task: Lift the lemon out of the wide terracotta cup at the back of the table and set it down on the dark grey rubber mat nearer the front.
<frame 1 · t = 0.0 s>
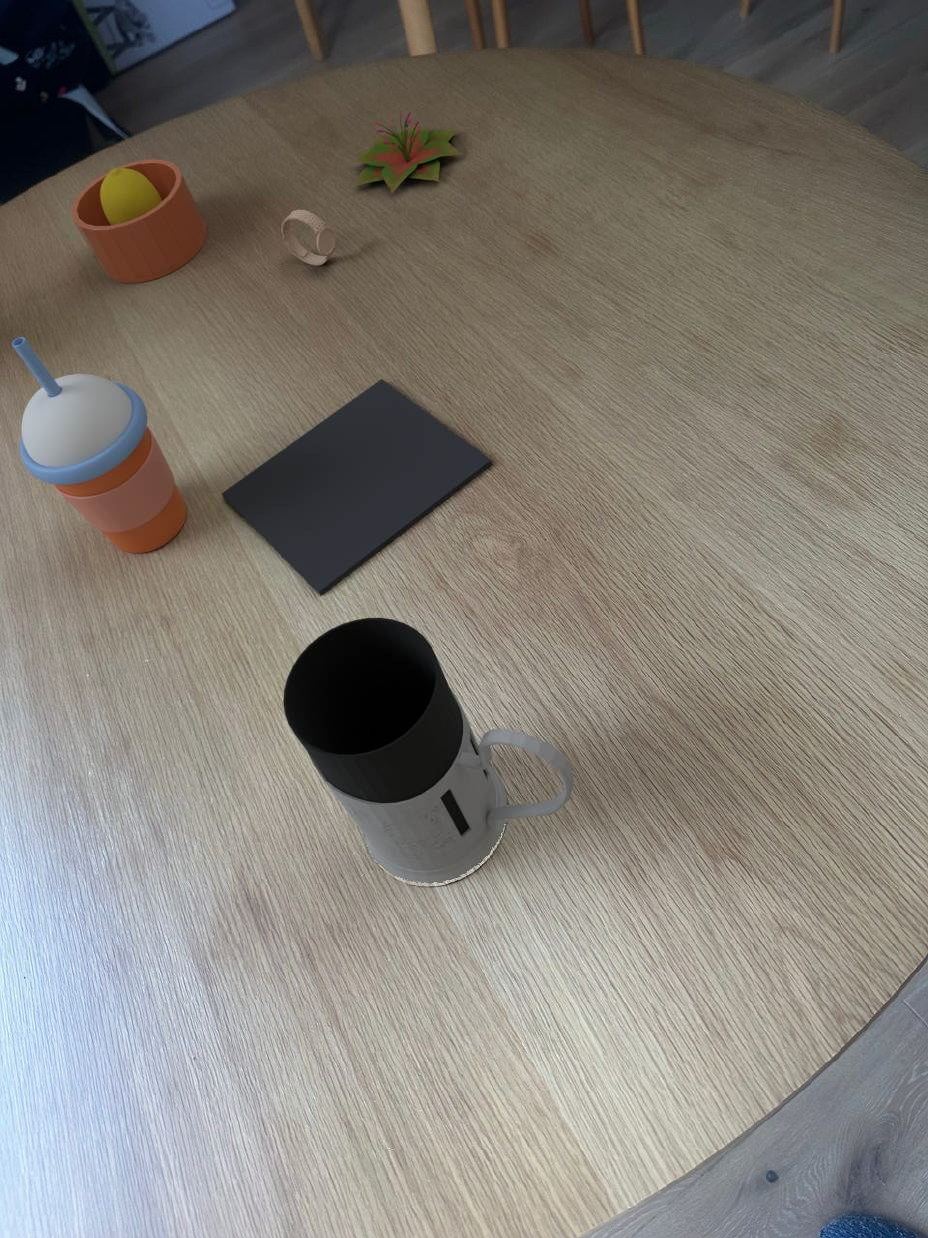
wristwatch: (316, 262, 92), on the table
cup: (155, 247, 99), on the table
mat: (354, 481, 75), on the table
lily flower: (408, 164, 98), on the table
lemon: (153, 244, 99), resting on cup
gray and black mug: (477, 828, 57), on the table
cup with straw: (151, 524, 77), on the table
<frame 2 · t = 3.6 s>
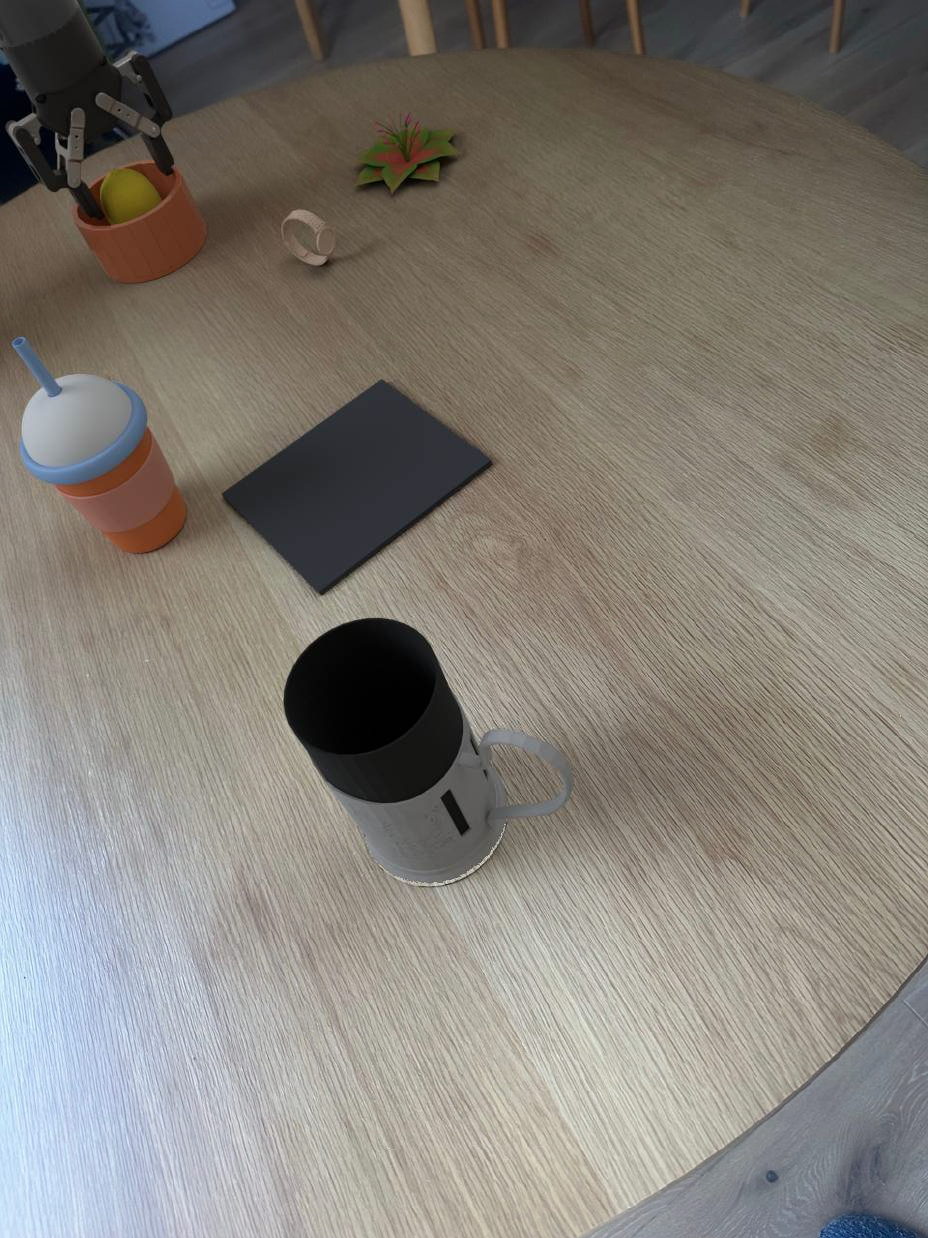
hand: (132, 194, 95), 6 cm above the table, tool pointing down, fingers open, 7 cm apart
nothing on the table moved.
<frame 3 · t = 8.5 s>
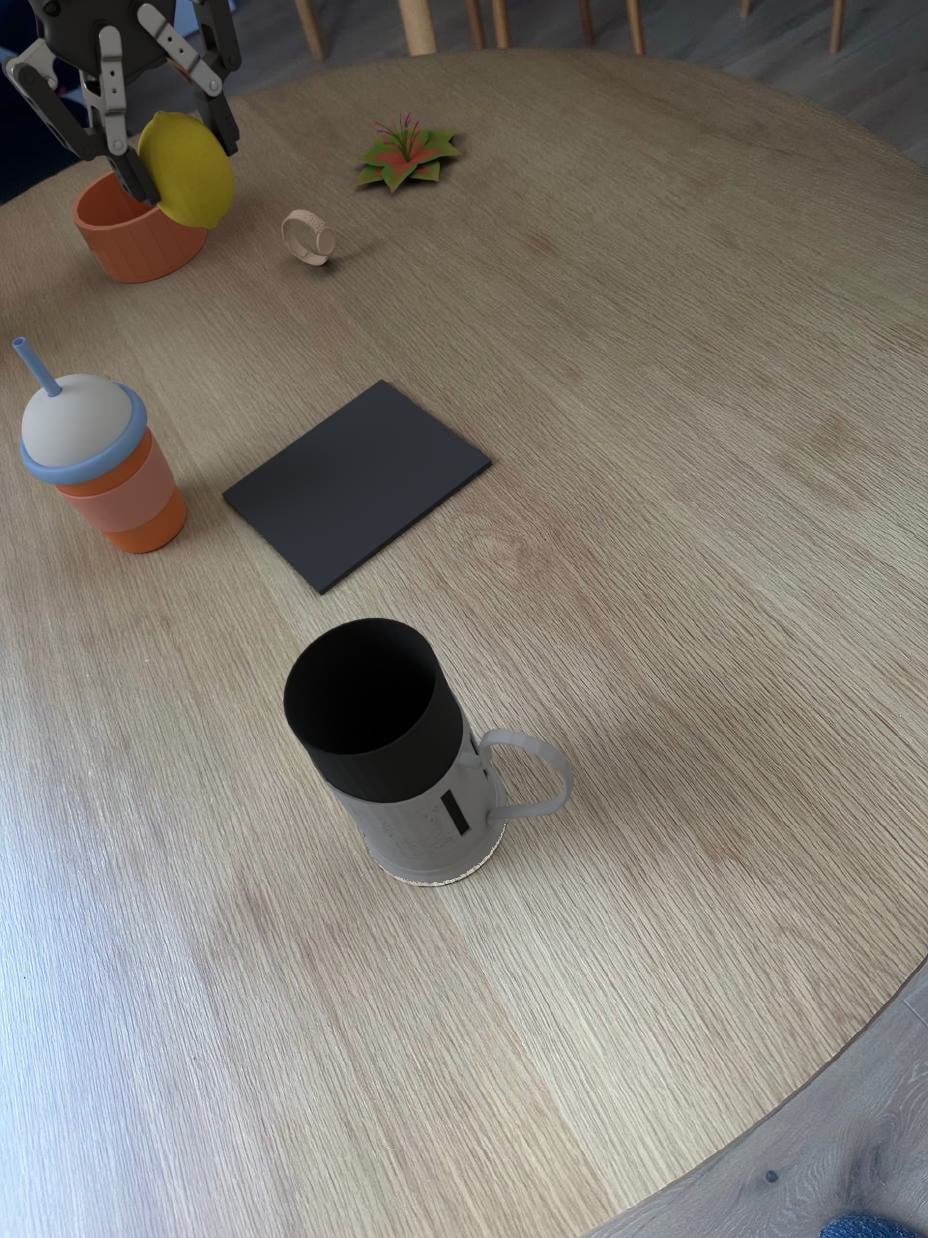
hand: (188, 175, 64), 21 cm above the table, tool pointing down, fingers closed on lemon, 5 cm apart
lemon: (214, 229, 67), point 17 cm above the table, touching gripper
everything else where it was.
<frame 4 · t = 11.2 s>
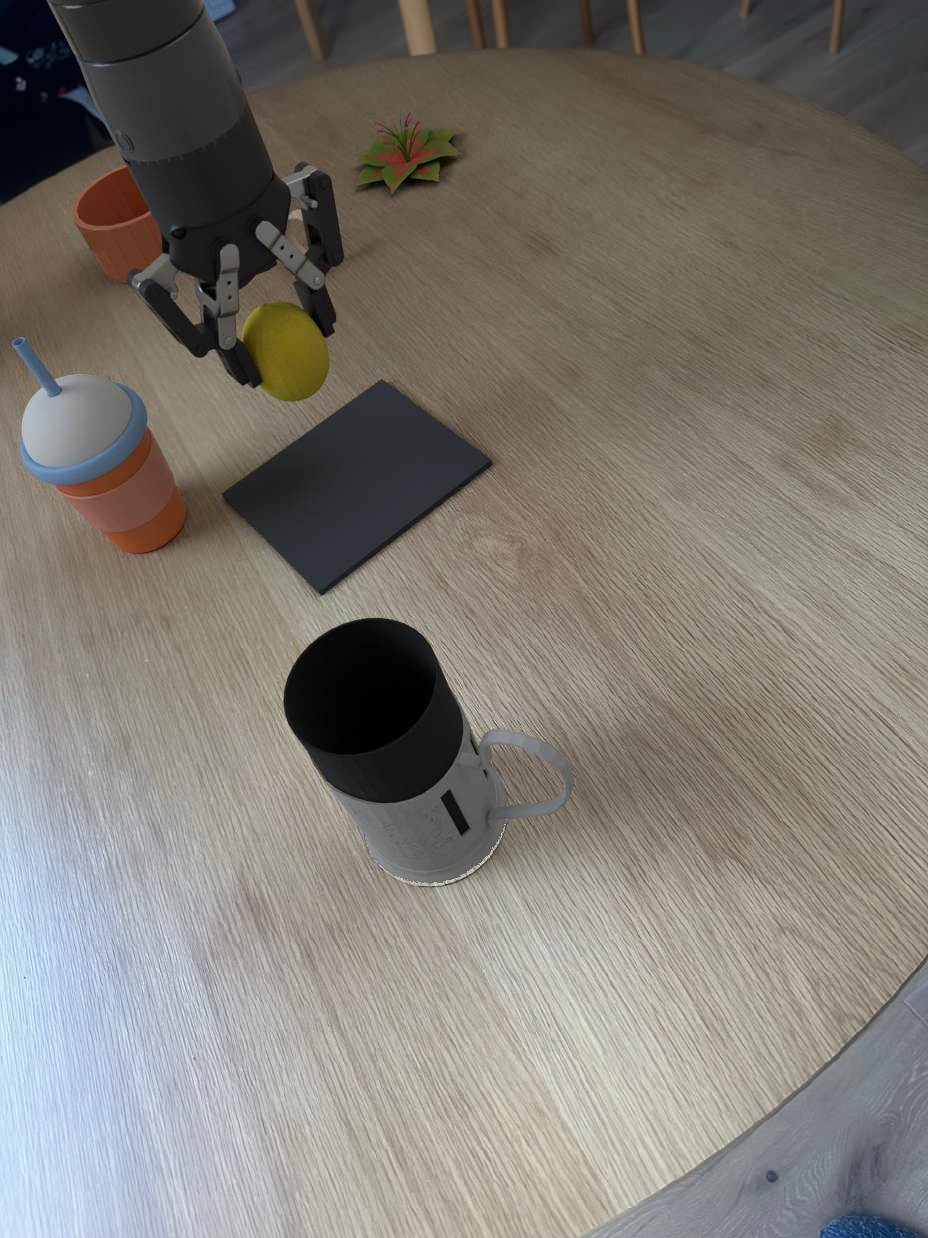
hand: (287, 355, 67), 11 cm above the table, tool pointing down, fingers closed on lemon, 5 cm apart
lemon: (306, 398, 70), point 7 cm above the table, touching gripper
everything else where it was.
when the fingers open (4 cm above the table, at t = 13.3 s): lemon stays where it is, resting on mat.
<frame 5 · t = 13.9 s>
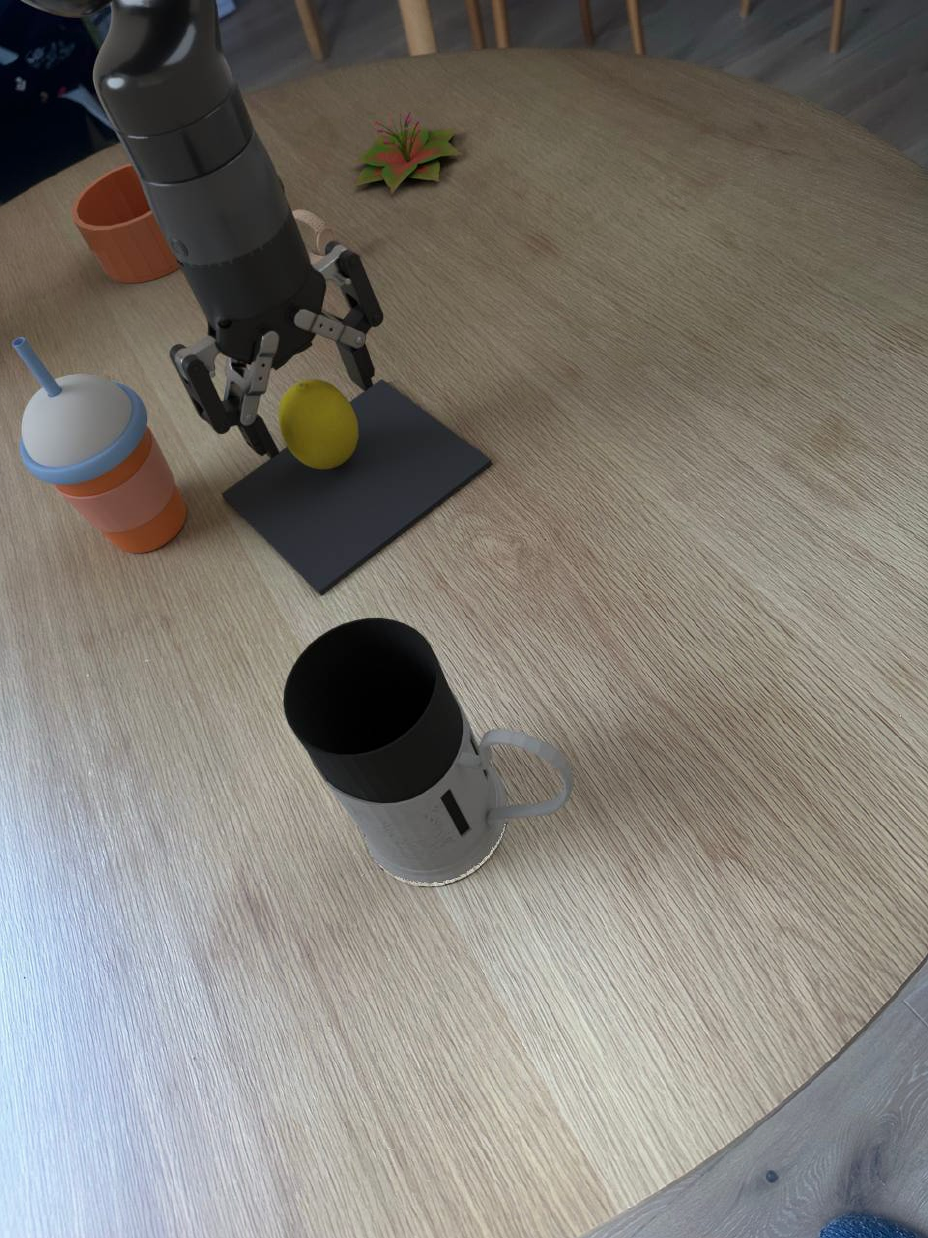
hand: (316, 417, 71), 5 cm above the table, tool pointing down, fingers open, 8 cm apart
lemon: (336, 465, 76), resting on mat
everything else where it was.
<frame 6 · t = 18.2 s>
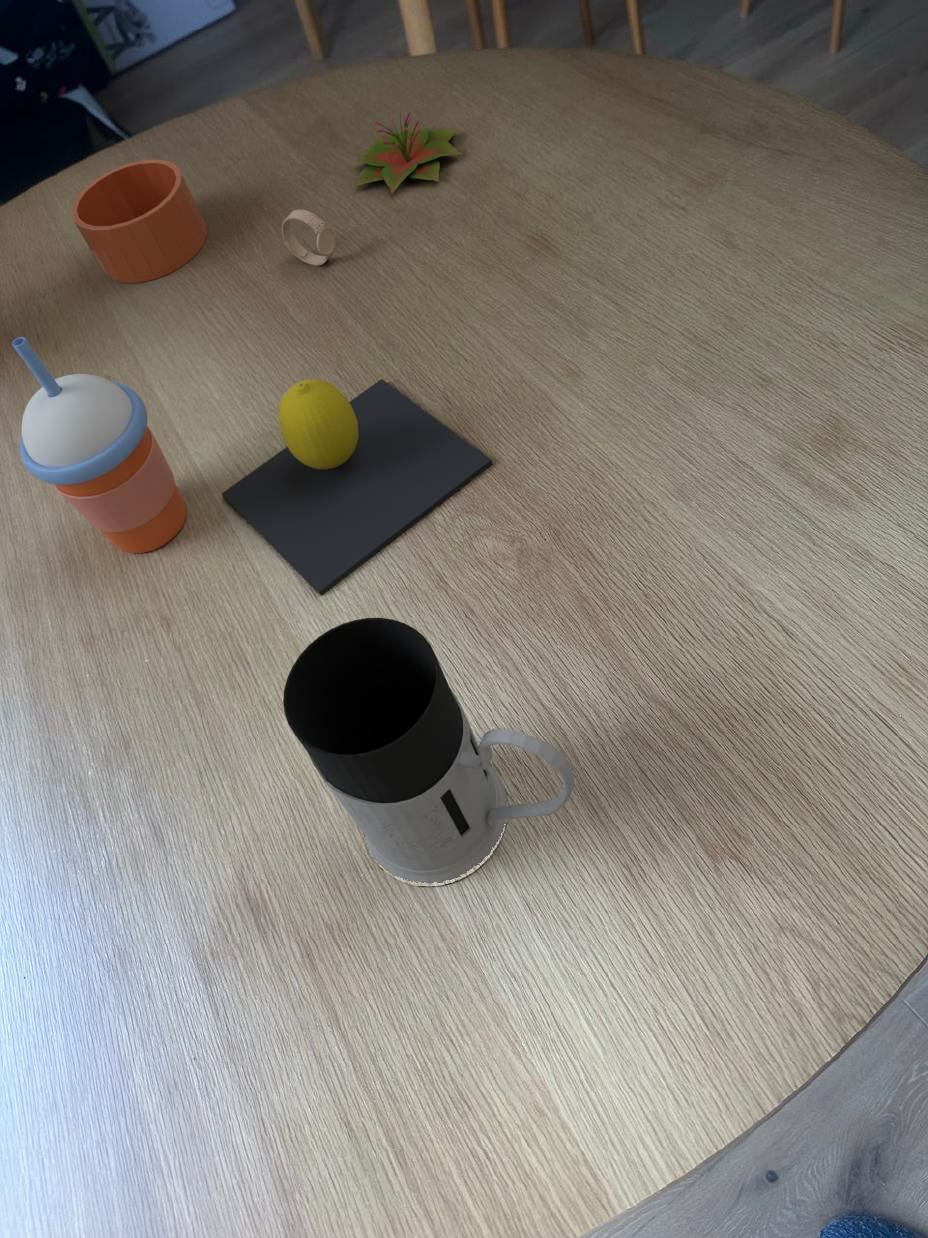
nothing on the table moved.
at the end: lemon inside the target area on the mat (2.2 cm from its centre), point 0.3 cm above the mat's base; lemon touching mat; the gripper is holding nothing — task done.
